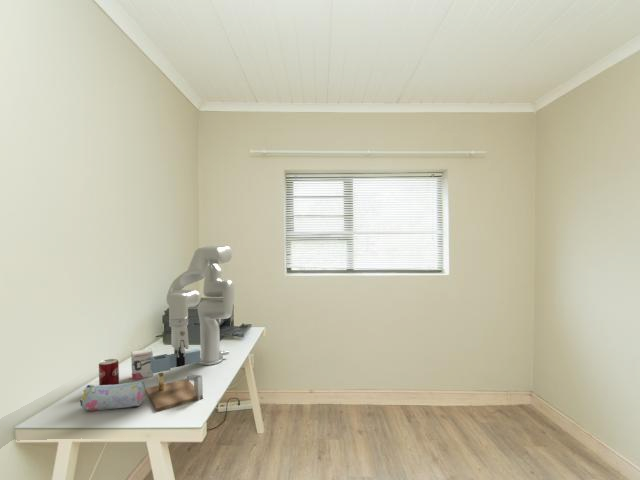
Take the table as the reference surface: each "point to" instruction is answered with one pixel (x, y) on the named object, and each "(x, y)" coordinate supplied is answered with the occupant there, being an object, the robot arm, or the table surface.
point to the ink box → (141, 363)
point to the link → (172, 360)
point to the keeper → (197, 385)
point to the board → (171, 394)
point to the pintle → (161, 381)
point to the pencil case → (113, 396)
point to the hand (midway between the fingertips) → (179, 364)
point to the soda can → (109, 372)
